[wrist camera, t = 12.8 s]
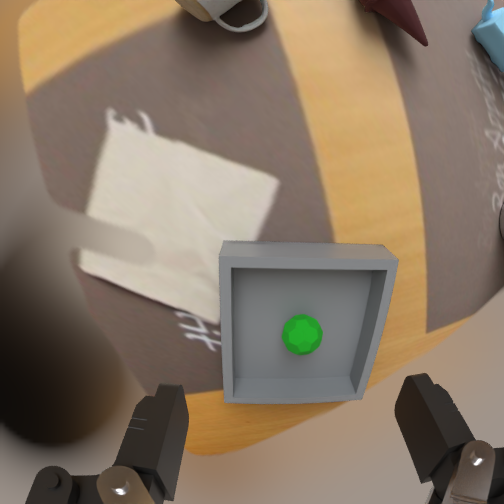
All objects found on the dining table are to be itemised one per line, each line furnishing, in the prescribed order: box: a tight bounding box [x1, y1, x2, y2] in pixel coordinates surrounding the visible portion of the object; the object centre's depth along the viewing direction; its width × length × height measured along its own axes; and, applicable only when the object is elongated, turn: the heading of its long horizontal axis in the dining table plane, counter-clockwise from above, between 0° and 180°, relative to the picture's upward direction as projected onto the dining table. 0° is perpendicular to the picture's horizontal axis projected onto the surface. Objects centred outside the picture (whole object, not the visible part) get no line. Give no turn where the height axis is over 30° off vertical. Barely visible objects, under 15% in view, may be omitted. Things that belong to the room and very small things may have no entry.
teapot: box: [471, 0, 504, 72], centre depth 22 cm, size 12×6×8 cm, turn 49°
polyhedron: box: [281, 314, 323, 355], centre depth 36 cm, size 5×5×5 cm
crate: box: [219, 241, 399, 404], centre depth 37 cm, size 19×21×5 cm
